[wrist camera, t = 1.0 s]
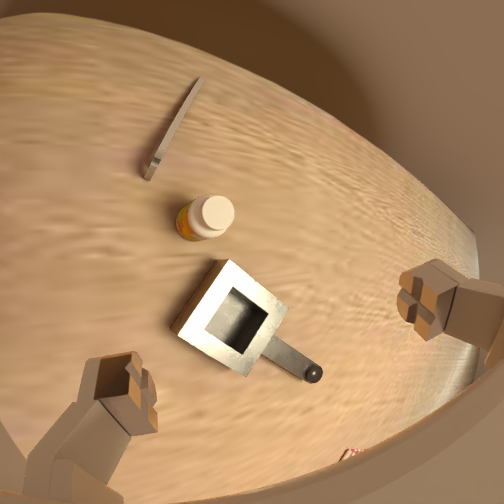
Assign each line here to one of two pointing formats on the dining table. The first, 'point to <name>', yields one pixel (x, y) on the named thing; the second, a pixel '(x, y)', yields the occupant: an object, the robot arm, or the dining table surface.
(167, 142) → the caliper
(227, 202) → the supplement bottle
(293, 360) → the ratchet holder
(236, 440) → the dining table surface
